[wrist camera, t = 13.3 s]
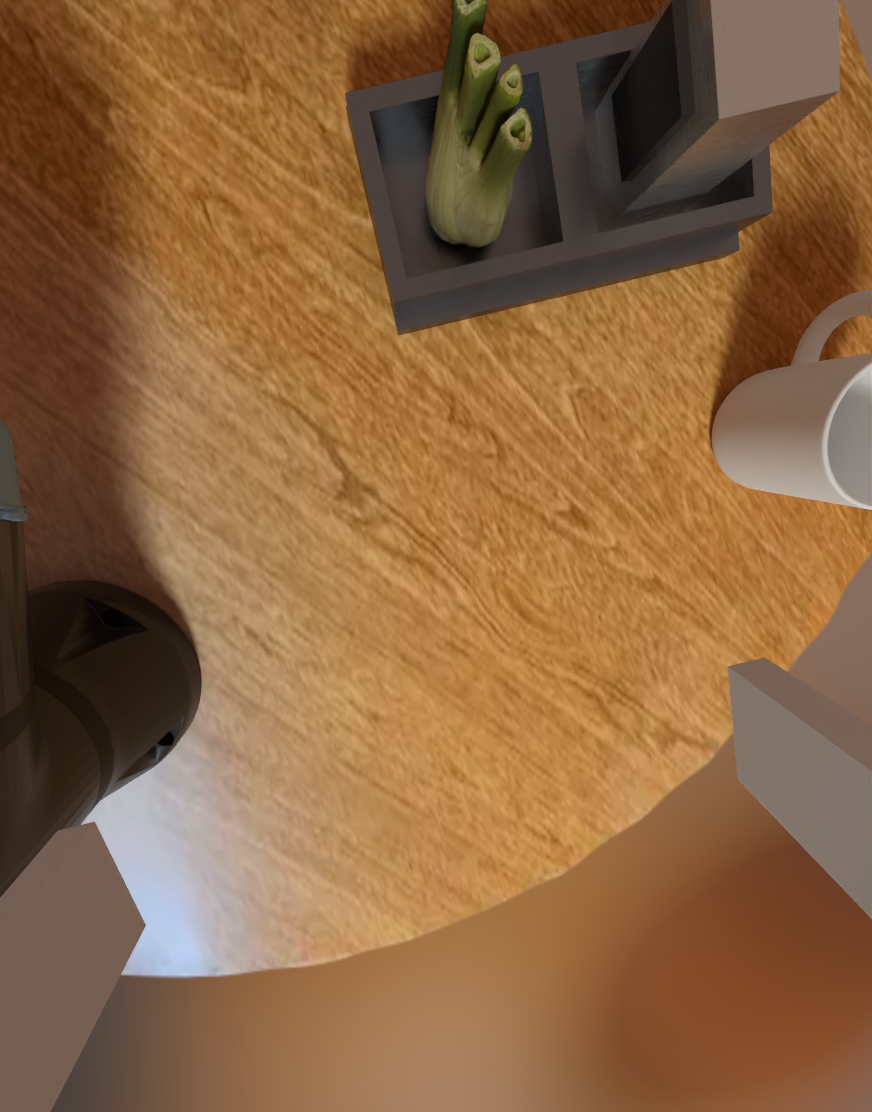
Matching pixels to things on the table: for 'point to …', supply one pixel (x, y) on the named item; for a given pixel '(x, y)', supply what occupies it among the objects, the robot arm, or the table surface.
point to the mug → (804, 420)
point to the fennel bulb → (474, 135)
